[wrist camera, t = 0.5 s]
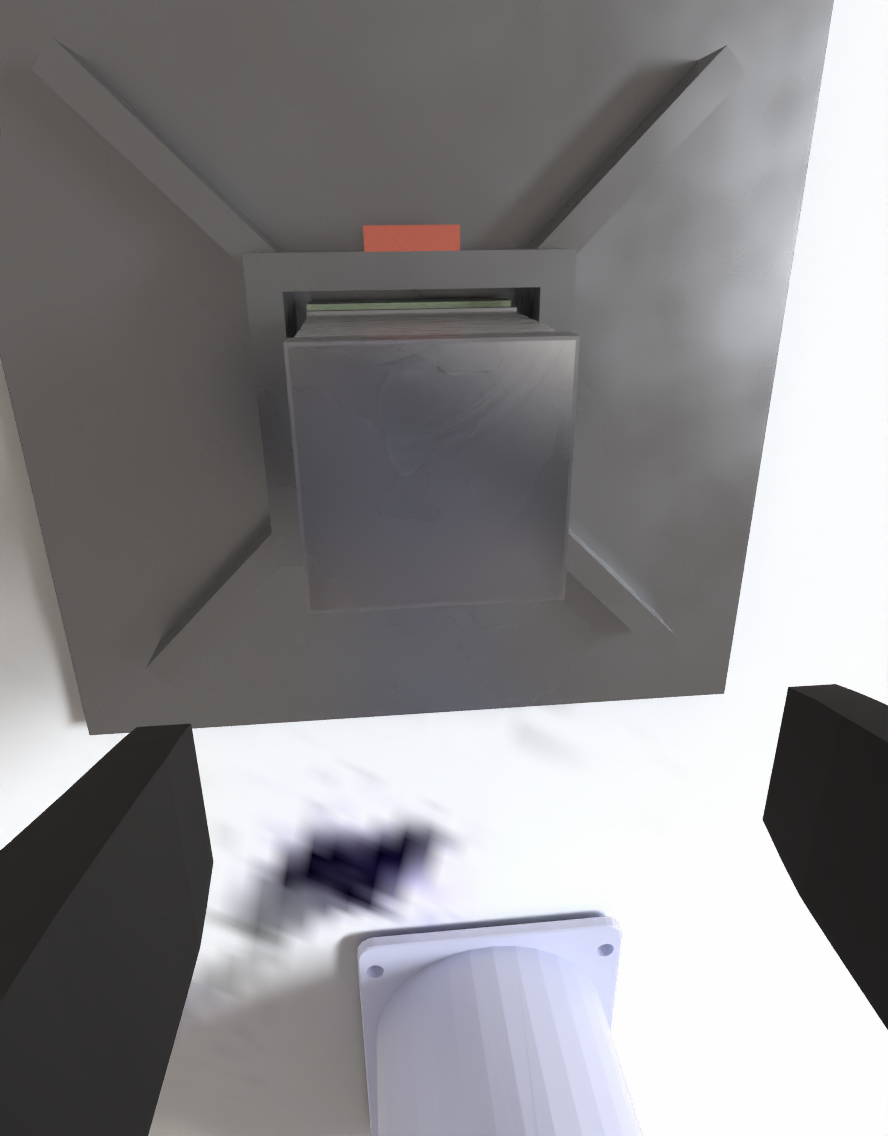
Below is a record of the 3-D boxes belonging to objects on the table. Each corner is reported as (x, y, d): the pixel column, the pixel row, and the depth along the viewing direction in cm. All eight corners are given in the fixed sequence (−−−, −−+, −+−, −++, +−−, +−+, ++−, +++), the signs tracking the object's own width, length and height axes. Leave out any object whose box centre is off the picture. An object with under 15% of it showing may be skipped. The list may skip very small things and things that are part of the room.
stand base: (714, 681, 20) (768, 750, 18) (97, 720, 19) (52, 801, 16) (826, -62, 14) (938, -134, 11) (-86, -83, 13) (-208, -170, 10)
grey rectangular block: (496, 477, 17) (568, 602, 11) (324, 483, 17) (304, 616, 11) (499, 296, 15) (584, 331, 10) (310, 299, 15) (279, 339, 9)
